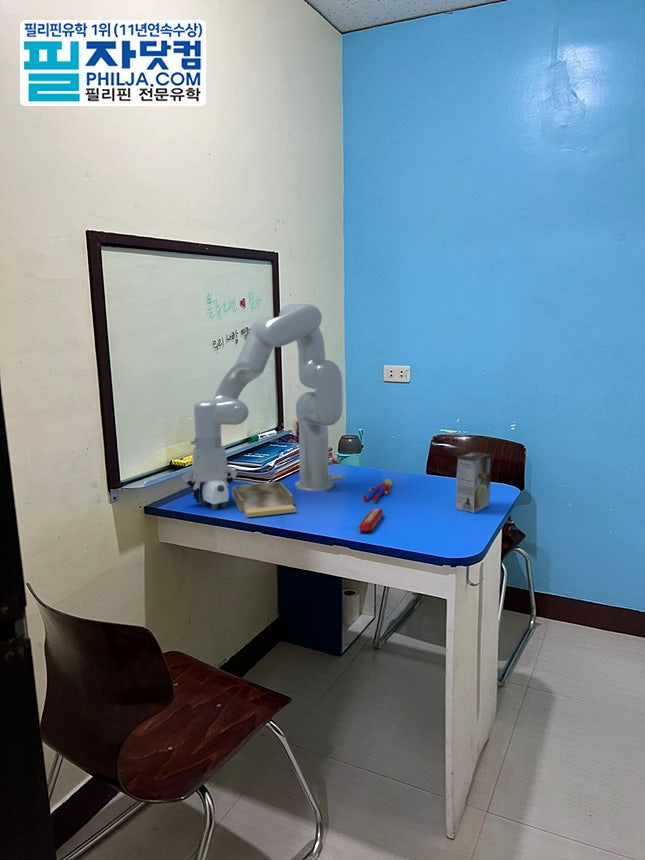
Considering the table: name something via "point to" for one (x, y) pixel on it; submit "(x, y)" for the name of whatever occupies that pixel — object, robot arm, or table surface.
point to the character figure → (378, 490)
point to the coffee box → (473, 481)
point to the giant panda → (214, 493)
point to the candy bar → (371, 520)
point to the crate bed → (261, 495)
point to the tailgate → (270, 510)
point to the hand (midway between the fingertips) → (211, 499)
